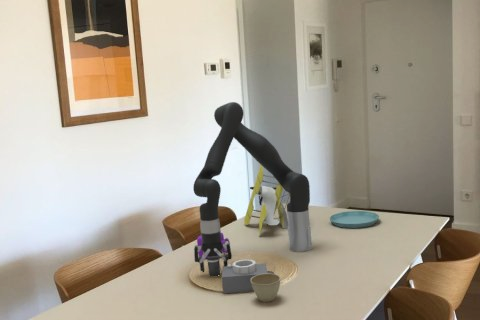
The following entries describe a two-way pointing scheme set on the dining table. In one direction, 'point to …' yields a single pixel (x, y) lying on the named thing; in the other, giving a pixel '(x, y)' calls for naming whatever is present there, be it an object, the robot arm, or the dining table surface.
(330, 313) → the dining table surface
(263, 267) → the camera body
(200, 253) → the toy camera
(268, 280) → the flower pot
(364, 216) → the saucer
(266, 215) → the biplane
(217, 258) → the lens
